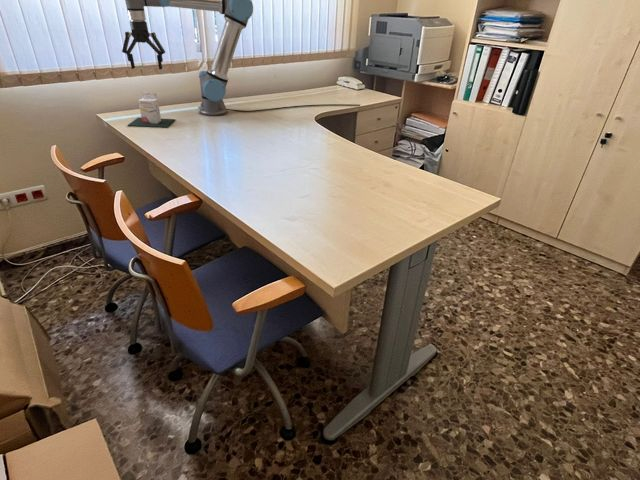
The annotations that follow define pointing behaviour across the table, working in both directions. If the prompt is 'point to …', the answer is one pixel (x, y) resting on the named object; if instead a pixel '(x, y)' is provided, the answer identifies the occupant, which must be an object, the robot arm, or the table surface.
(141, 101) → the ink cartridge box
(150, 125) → the desk mat
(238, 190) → the table surface
